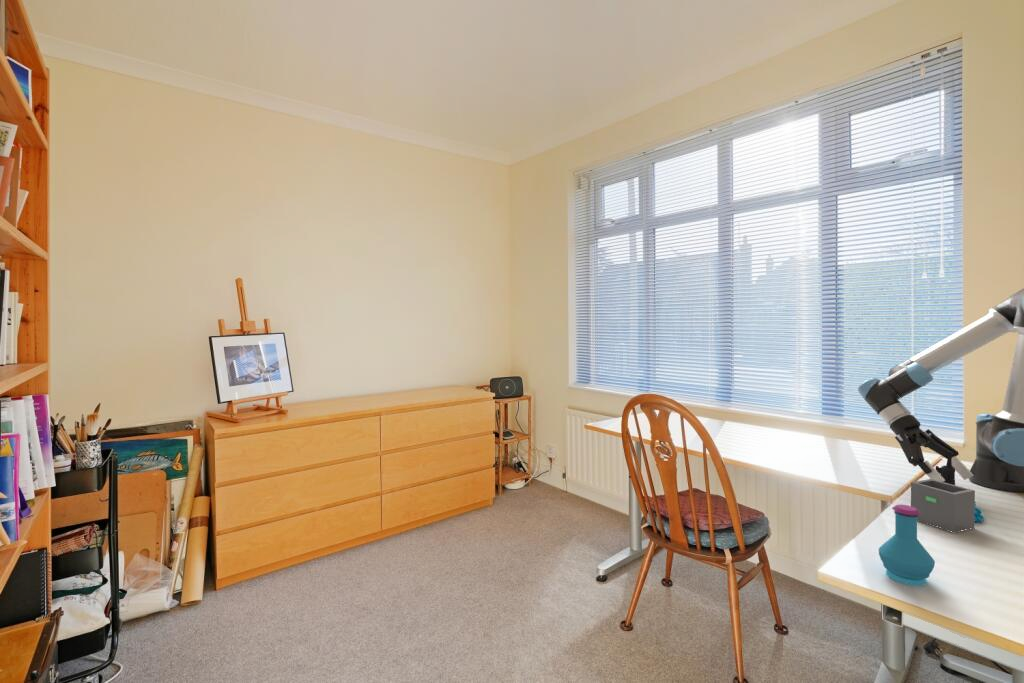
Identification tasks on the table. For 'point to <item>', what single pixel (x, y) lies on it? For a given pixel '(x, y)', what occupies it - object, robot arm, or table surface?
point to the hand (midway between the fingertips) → (955, 480)
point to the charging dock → (944, 504)
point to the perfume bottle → (906, 550)
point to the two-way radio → (947, 471)
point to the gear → (978, 515)
